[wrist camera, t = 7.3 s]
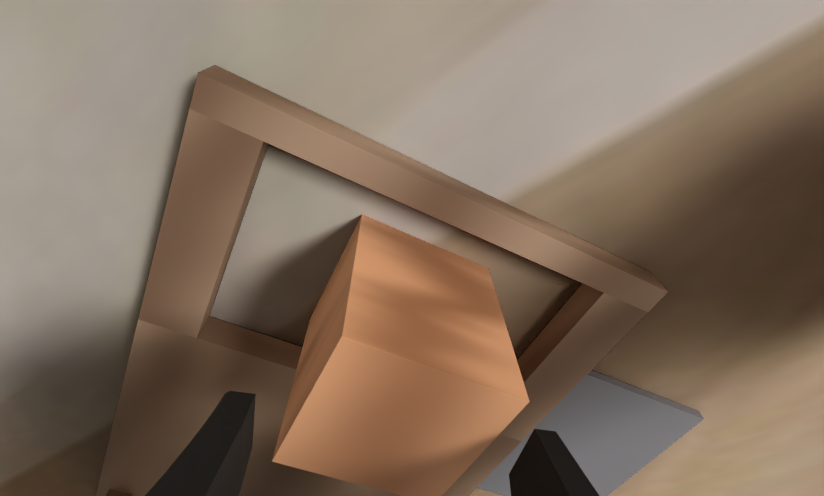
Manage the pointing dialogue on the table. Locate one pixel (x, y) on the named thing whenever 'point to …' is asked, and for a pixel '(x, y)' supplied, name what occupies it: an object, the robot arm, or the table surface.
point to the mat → (606, 432)
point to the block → (401, 368)
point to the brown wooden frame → (277, 360)
